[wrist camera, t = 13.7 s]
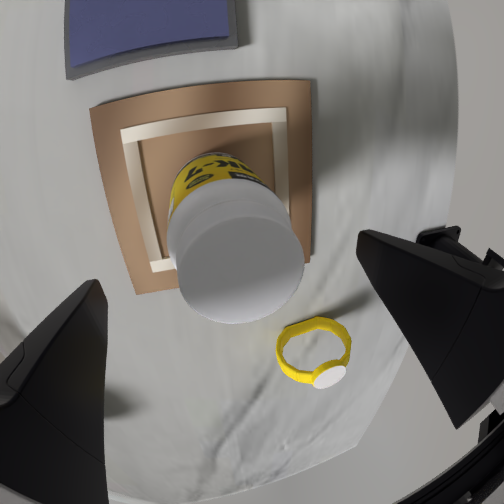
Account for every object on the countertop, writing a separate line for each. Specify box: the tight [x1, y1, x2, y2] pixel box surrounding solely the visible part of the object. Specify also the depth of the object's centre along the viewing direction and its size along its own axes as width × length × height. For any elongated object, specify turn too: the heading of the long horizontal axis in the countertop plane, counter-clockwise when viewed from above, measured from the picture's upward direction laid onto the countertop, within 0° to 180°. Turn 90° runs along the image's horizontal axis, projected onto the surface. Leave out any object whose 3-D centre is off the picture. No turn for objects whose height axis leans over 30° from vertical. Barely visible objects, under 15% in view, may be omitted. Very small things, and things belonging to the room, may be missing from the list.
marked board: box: [89, 80, 312, 295], centre depth 16 cm, size 12×12×1 cm
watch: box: [276, 316, 351, 389], centre depth 22 cm, size 6×3×6 cm, turn 101°
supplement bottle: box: [167, 153, 304, 324], centre depth 12 cm, size 5×5×8 cm
